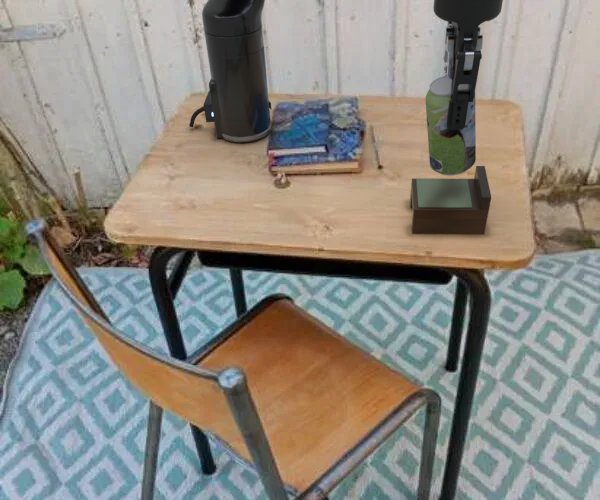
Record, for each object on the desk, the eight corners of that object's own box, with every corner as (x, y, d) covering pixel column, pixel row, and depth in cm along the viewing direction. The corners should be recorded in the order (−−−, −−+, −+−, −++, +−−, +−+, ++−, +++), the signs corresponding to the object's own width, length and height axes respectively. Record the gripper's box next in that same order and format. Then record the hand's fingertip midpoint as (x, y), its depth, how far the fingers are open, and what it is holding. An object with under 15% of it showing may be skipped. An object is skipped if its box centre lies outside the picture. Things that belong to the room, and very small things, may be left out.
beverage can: (481, 175, 86) (497, 85, 77) (431, 186, 85) (440, 96, 76) (460, 153, 90) (473, 65, 82) (411, 163, 89) (419, 75, 81)
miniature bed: (411, 234, 91) (415, 196, 86) (409, 202, 96) (413, 165, 92) (484, 234, 90) (491, 197, 86) (478, 202, 95) (484, 165, 91)
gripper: (433, -52, 75) (420, 91, 87) (442, -11, 65) (426, 144, 78) (499, -54, 74) (477, 90, 87) (518, -13, 65) (490, 144, 77)
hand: (453, 115), depth 82 cm, fingers closed on beverage can, 6 cm apart
